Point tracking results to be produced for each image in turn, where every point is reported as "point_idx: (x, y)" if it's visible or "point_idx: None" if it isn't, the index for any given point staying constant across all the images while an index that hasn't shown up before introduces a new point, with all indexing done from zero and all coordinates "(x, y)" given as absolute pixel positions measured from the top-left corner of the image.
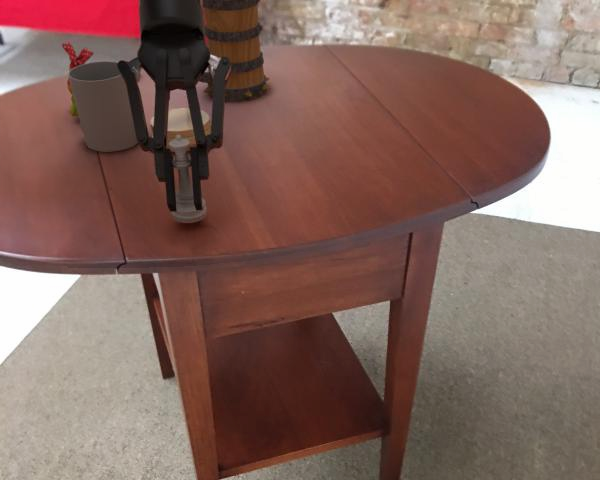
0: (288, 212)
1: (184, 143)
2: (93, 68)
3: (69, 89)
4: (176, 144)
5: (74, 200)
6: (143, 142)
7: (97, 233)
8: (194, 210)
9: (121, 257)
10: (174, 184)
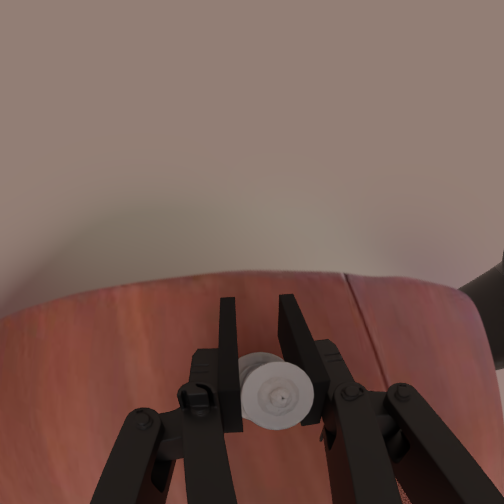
0: (87, 391)
1: (257, 388)
2: None
3: None
4: (286, 379)
5: None
6: (393, 385)
7: (401, 344)
8: (243, 357)
9: (351, 278)
10: None
